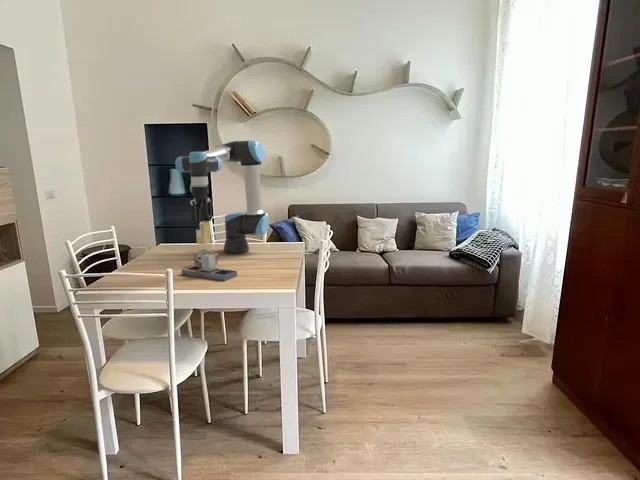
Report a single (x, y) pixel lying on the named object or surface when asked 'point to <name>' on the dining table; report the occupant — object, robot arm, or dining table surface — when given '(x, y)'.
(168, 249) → the dining table surface
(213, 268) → the grey square-ended block
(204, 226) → the tan rectangular block
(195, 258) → the rock
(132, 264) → the dining table surface
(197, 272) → the grey block rack
